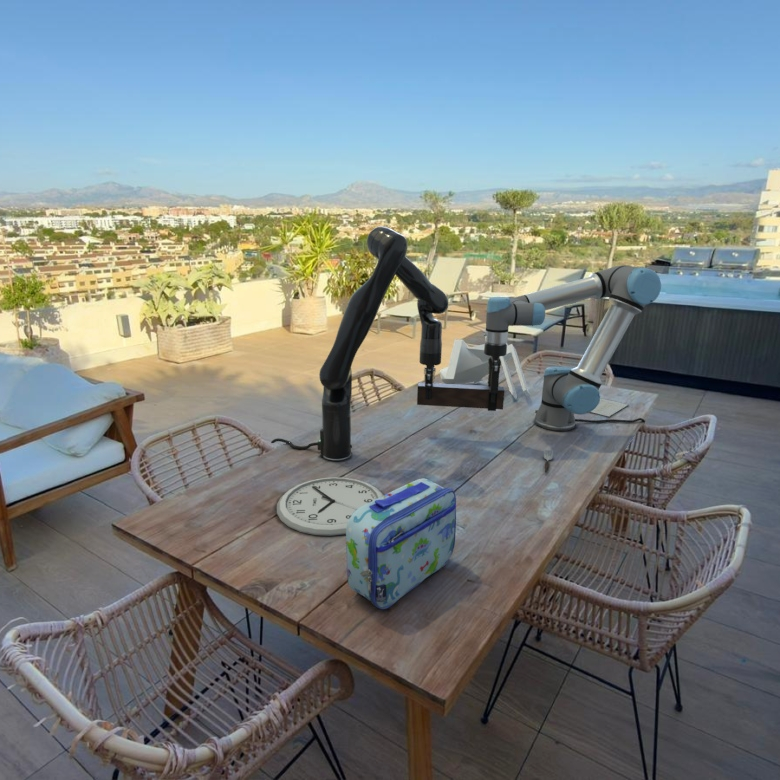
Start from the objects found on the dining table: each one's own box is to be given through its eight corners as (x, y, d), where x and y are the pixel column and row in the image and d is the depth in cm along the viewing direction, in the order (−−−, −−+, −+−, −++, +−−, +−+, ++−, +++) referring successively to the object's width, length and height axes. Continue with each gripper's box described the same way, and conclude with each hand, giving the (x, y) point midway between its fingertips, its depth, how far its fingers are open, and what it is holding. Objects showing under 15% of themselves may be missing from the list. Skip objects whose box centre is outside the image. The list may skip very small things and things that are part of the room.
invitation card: (608, 416, 214) (573, 407, 224) (608, 416, 214) (573, 408, 224) (628, 404, 229) (594, 396, 238) (628, 405, 229) (594, 397, 238)
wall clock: (392, 527, 129) (268, 531, 127) (391, 533, 130) (269, 537, 127) (383, 473, 158) (282, 475, 155) (383, 478, 158) (282, 480, 156)
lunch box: (375, 622, 100) (376, 527, 94) (339, 595, 108) (338, 505, 101) (459, 565, 118) (465, 481, 112) (424, 545, 125) (427, 465, 119)
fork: (540, 473, 163) (541, 467, 163) (544, 453, 178) (545, 448, 177) (549, 474, 162) (550, 468, 162) (552, 454, 177) (553, 449, 176)
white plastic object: (461, 429, 252) (437, 405, 227) (444, 352, 274) (420, 323, 250) (535, 404, 240) (518, 377, 215) (510, 326, 262) (492, 293, 237)
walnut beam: (501, 405, 186) (503, 386, 184) (502, 409, 182) (504, 390, 180) (417, 400, 190) (418, 382, 188) (417, 404, 185) (417, 385, 183)
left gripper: (421, 345, 188) (419, 390, 194) (418, 354, 175) (416, 402, 180) (442, 346, 188) (440, 391, 193) (440, 355, 174) (438, 403, 179)
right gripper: (483, 337, 186) (479, 399, 193) (486, 348, 170) (482, 415, 177) (504, 338, 186) (499, 400, 193) (509, 349, 169) (504, 417, 176)
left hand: (428, 396), depth 186 cm, fingers closed on walnut beam, 4 cm apart
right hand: (491, 407), depth 185 cm, fingers closed on walnut beam, 4 cm apart
